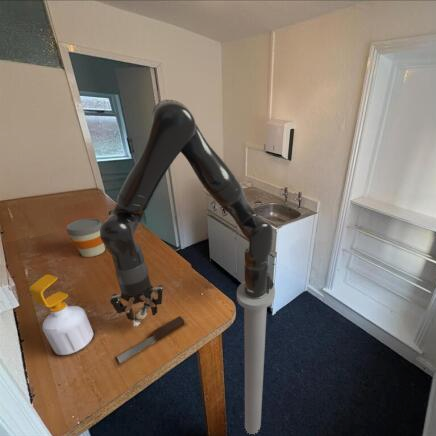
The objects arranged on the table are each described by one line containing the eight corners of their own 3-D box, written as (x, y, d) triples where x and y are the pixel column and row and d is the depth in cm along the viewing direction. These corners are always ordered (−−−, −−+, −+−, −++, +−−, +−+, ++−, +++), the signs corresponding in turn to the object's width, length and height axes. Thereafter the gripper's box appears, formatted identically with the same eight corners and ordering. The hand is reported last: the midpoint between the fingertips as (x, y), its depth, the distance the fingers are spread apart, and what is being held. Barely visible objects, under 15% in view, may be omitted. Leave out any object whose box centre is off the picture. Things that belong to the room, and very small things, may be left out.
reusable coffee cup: (69, 259, 105) (58, 231, 98) (86, 245, 116) (76, 218, 110) (101, 258, 108) (92, 230, 101) (114, 244, 119) (106, 217, 112)
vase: (153, 310, 80) (150, 297, 77) (153, 322, 76) (150, 309, 73) (135, 315, 77) (131, 302, 75) (134, 328, 73) (130, 314, 71)
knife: (180, 319, 81) (180, 315, 80) (184, 324, 80) (184, 320, 79) (116, 357, 68) (115, 353, 67) (119, 364, 66) (118, 359, 66)
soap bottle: (101, 334, 74) (76, 273, 64) (69, 360, 66) (35, 295, 56) (80, 325, 76) (53, 265, 66) (46, 350, 68) (10, 285, 58)
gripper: (99, 289, 63) (114, 331, 70) (159, 278, 69) (167, 318, 76) (106, 272, 69) (119, 313, 76) (161, 263, 75) (168, 302, 82)
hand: (143, 315), depth 76 cm, fingers closed on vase, 5 cm apart
